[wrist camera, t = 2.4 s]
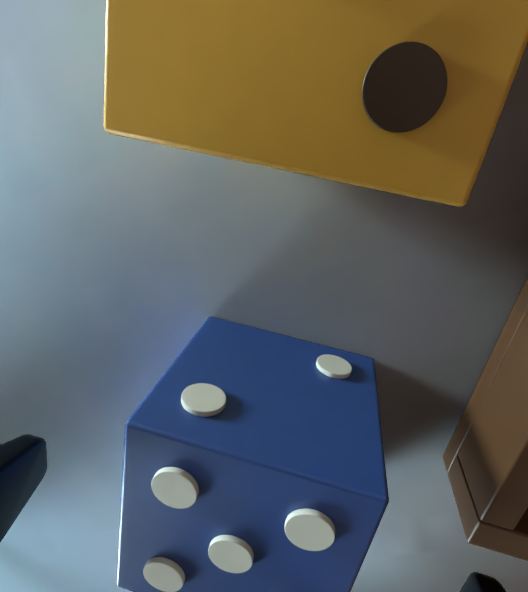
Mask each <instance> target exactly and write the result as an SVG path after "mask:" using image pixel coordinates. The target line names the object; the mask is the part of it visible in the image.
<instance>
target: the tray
mask: <svg viewBox="0 0 528 592" xmlns="http://www.w3.org/2000/svg"><path fill="white" fill-rule="evenodd" d="M443 459H444V463H445V466H446V470H447V472H448V476H449V480H450V483H451V486H452V490H453V493H454V497H455V500H456V504H457V507H458V511H459V514H460V517H461V521H462V524H463V528H464V531H465V535H466V538H467V541H468V542H469V543H470V544H473V545H477V546H480V547H483V548H487V549H490V550H493V551H497V552H500V553H503V554H507V555H510V556H513V557H516V558H520V559H523V560H526V561H528V277H527V279H526V282H525V284H524V286H523V288H522V290H521V292H520V294H519V296H518V298H517V301H516V303H515V305H514V307H513V309H512V311H511V313H510V315H509V318H508V320H507V322H506V324H505V326H504V328H503V330H502V332H501V334H500V337H499V339H498V341H497V343H496V345H495V347H494V349H493V351H492V353H491V356H490V358H489V360H488V362H487V364H486V366H485V368H484V370H483V373H482V375H481V377H480V379H479V381H478V383H477V385H476V387H475V389H474V392H473V394H472V396H471V398H470V400H469V402H468V404H467V406H466V409H465V411H464V413H463V415H462V417H461V419H460V421H459V423H458V425H457V428H456V430H455V432H454V434H453V436H452V438H451V440H450V442H449V444H448V447H447V449H446V451H445V453H444V455H443Z"/></svg>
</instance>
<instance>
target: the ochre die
mask: <svg viewBox="0 0 528 592" xmlns="http://www.w3.org/2000/svg"><path fill="white" fill-rule="evenodd" d="M527 43H528V0H106V29H105V81H104V129H105V131H107V132H108V133H109V134H113V135H118V136H123V137H128V138H133V139H137V140H142V141H147V142H152V143H156V144H161V145H166V146H171V147H176V148H180V149H185V150H190V151H195V152H199V153H204V154H209V155H214V156H218V157H223V158H228V159H233V160H238V161H242V162H247V163H252V164H257V165H261V166H266V167H271V168H276V169H280V170H285V171H290V172H295V173H300V174H304V175H309V176H314V177H319V178H323V179H328V180H333V181H338V182H343V183H347V184H352V185H357V186H362V187H366V188H371V189H376V190H381V191H385V192H390V193H395V194H400V195H405V196H409V197H414V198H419V199H424V200H428V201H433V202H438V203H443V204H447V205H452V206H457V207H460V206H464V205H465V204H466V203H467V202H468V199H469V196H470V194H471V191H472V188H473V186H474V183H475V181H476V178H477V175H478V173H479V170H480V167H481V165H482V162H483V159H484V157H485V154H486V151H487V149H488V146H489V144H490V141H491V138H492V136H493V133H494V130H495V128H496V125H497V122H498V120H499V117H500V114H501V112H502V109H503V107H504V104H505V101H506V99H507V96H508V93H509V91H510V88H511V85H512V83H513V80H514V77H515V75H516V72H517V70H518V67H519V64H520V62H521V59H522V56H523V54H524V51H525V48H526V46H527Z"/></svg>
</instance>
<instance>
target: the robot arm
mask: <svg viewBox="0 0 528 592" xmlns="http://www.w3.org/2000/svg"><path fill="white" fill-rule="evenodd" d="M46 469H47V451H46V441H45V440H44V439H43V438H40V437H37V436H34V435H30V434H25V435H22V436H20V437H17V438H15V439H13V440H11V441H8V442H6V443H4V444H1V445H0V542H1V540H2V539H3V538H4V536H5V535H6V533H7V532H8V530H9V529H10V527H11V526H12V524H13V523H14V521H15V520H16V518H17V516H18V515H19V513H20V512H21V510H22V509H23V507H24V506H25V504H26V503H27V501H28V500H29V498H30V497H31V495H32V494H33V492H34V491H35V489H36V488H37V486H38V485H39V483H40V482H41V480H42V479H43V477H44V475H45V473H46ZM460 592H506V591H505V589H504V588H503V586H502V585H501V584H500V583H499V582H498V581H497V580H496V579H495V578H493V577H490V576H487V575H484V574H481V573H477V572H474V573H471V574H470V576H469V577H468V579H467V581H466V582H465V584H464V586H463V587H462V589H461V591H460Z"/></svg>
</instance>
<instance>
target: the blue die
mask: <svg viewBox="0 0 528 592" xmlns="http://www.w3.org/2000/svg"><path fill="white" fill-rule="evenodd" d="M388 502H389V497H388V488H387V478H386V469H385V460H384V450H383V441H382V431H381V422H380V413H379V403H378V394H377V384H376V375H375V365H374V359H372V358H370V357H366V356H362V355H358V354H354V353H350V352H346V351H343V350H339V349H335V348H331V347H327V346H323V345H319V344H315V343H311V342H308V341H304V340H300V339H296V338H292V337H288V336H284V335H280V334H277V333H273V332H269V331H265V330H261V329H257V328H253V327H249V326H246V325H242V324H238V323H234V322H230V321H226V320H222V319H218V318H214V317H209V318H208V319H207V320H206V322H205V323H204V324H203V325H202V327H201V328H200V329H199V330H198V332H197V333H196V334H195V335H194V337H193V338H192V339H191V341H190V342H189V343H188V344H187V346H186V347H185V348H184V349H183V351H182V352H181V353H180V354H179V356H178V357H177V358H176V360H175V361H174V362H173V363H172V365H171V366H170V367H169V368H168V370H167V371H166V372H165V373H164V375H163V376H162V377H161V379H160V380H159V381H158V382H157V384H156V385H155V386H154V387H153V389H152V390H151V391H150V392H149V394H148V395H147V396H146V398H145V399H144V400H143V401H142V403H141V404H140V405H139V406H138V408H137V409H136V410H135V411H134V413H133V414H132V415H131V416H130V418H129V419H128V420H127V422H126V424H125V441H124V460H123V478H122V497H121V515H120V534H119V553H118V571H117V585H118V586H119V587H121V588H124V589H127V590H130V591H133V592H350V591H351V589H352V586H353V584H354V582H355V579H356V577H357V575H358V572H359V570H360V568H361V565H362V563H363V561H364V558H365V556H366V554H367V551H368V549H369V547H370V544H371V542H372V540H373V537H374V535H375V532H376V530H377V528H378V525H379V523H380V521H381V518H382V516H383V514H384V511H385V509H386V507H387V504H388Z"/></svg>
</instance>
